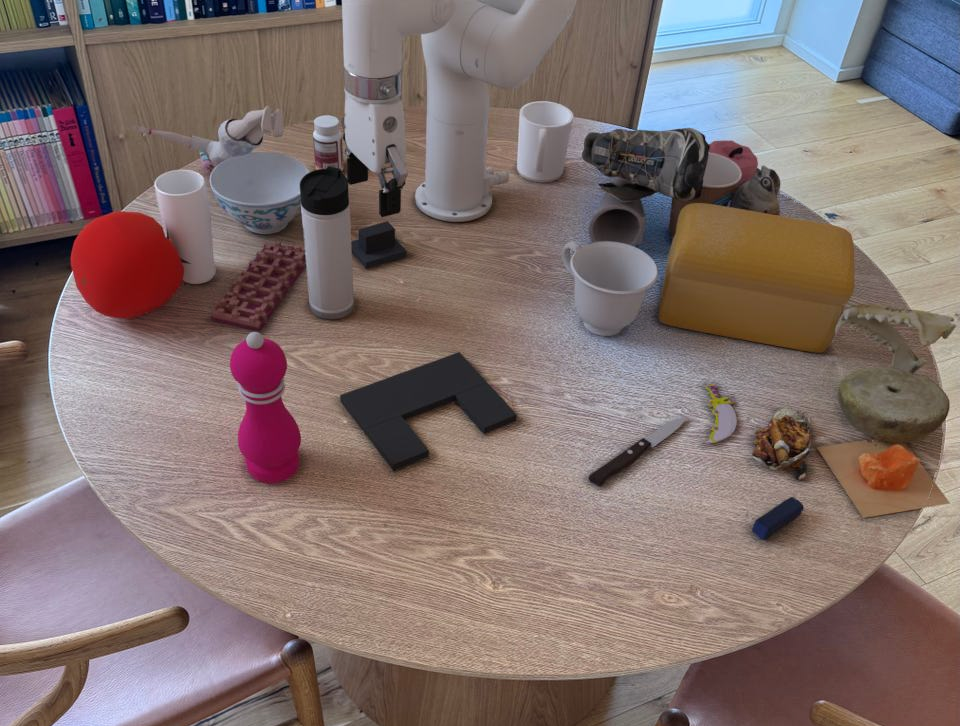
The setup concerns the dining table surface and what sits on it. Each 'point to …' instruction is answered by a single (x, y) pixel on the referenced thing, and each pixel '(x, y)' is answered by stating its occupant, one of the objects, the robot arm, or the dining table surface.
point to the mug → (543, 140)
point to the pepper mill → (265, 410)
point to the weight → (893, 404)
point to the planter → (618, 219)
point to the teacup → (608, 283)
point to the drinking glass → (188, 221)
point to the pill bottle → (327, 143)
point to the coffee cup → (710, 187)
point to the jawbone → (889, 336)
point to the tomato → (126, 265)
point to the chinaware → (259, 189)
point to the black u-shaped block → (423, 406)
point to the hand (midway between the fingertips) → (373, 197)
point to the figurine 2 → (758, 193)
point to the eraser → (777, 518)
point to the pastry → (784, 442)
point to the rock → (882, 477)
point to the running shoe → (649, 162)
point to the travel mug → (327, 242)
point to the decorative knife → (721, 416)
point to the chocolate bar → (261, 286)
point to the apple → (737, 157)
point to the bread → (757, 277)
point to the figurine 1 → (229, 136)
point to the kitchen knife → (634, 452)
